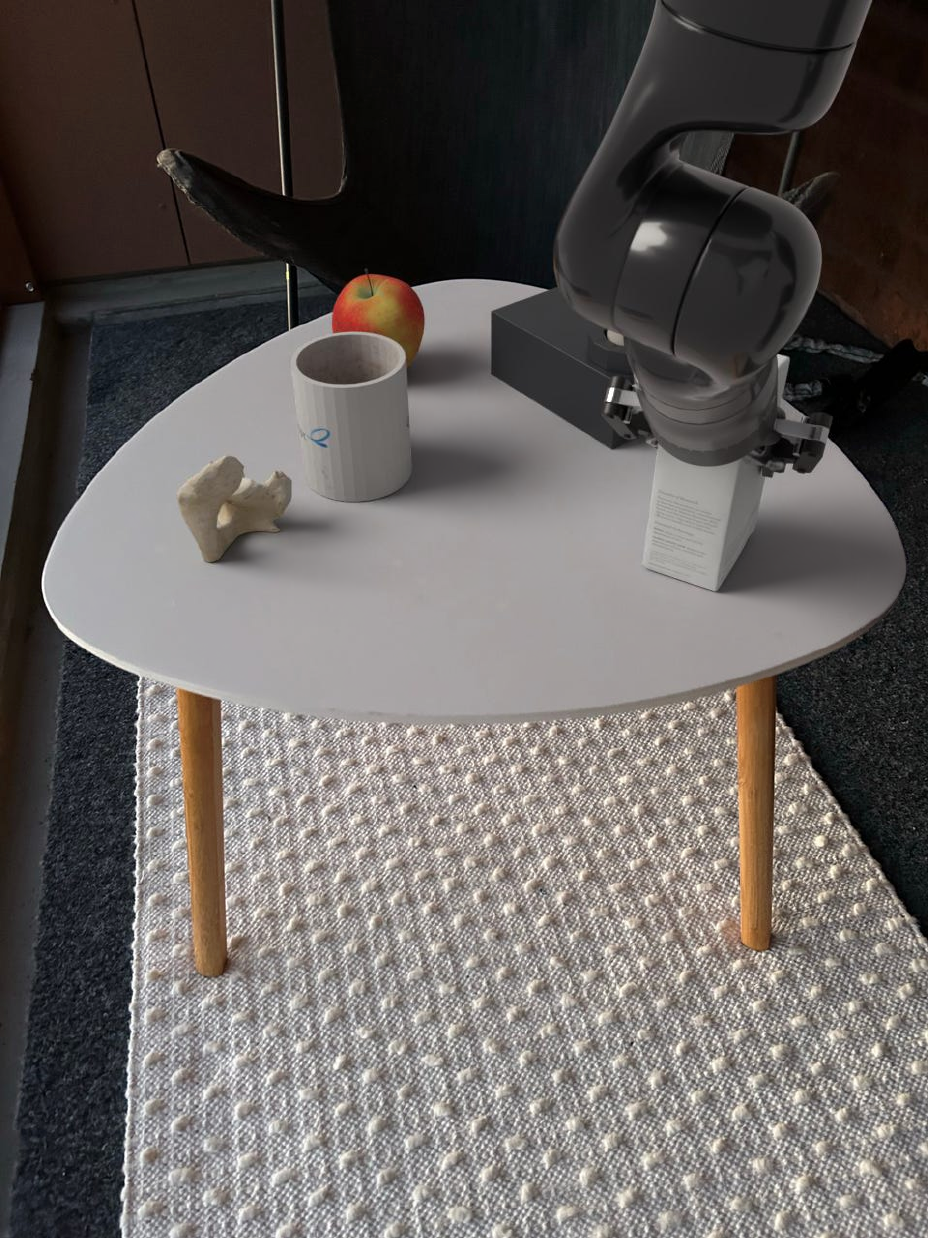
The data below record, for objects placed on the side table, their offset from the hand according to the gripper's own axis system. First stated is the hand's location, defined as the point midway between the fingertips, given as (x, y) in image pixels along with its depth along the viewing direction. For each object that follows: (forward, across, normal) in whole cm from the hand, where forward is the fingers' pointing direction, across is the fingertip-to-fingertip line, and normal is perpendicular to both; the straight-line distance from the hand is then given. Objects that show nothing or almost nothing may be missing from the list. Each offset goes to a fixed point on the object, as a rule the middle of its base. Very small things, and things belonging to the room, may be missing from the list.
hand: (720, 452), depth 76 cm
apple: (+15, +33, -5) cm, 37 cm away
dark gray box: (+17, +14, -7) cm, 24 cm away
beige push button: (+10, +10, -10) cm, 17 cm away
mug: (+6, +29, +5) cm, 30 cm away
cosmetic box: (+4, 0, +7) cm, 8 cm away
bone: (-3, +33, +14) cm, 36 cm away
